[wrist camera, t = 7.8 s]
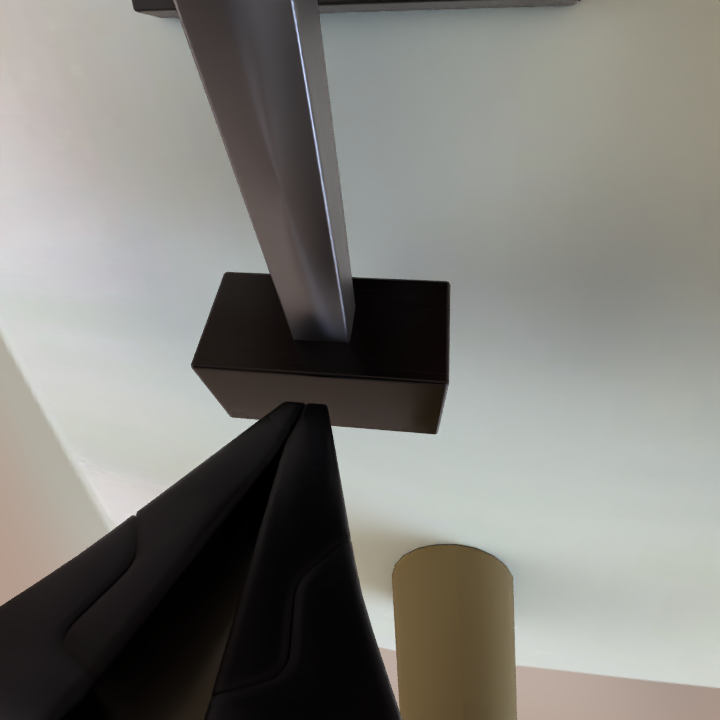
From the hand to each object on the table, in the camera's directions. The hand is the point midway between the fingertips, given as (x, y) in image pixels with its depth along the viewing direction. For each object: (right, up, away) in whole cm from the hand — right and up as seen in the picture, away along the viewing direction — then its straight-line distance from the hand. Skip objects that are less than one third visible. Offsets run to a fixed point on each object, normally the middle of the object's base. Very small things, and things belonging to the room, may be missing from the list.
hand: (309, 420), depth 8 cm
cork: (+6, -10, +14) cm, 18 cm away
